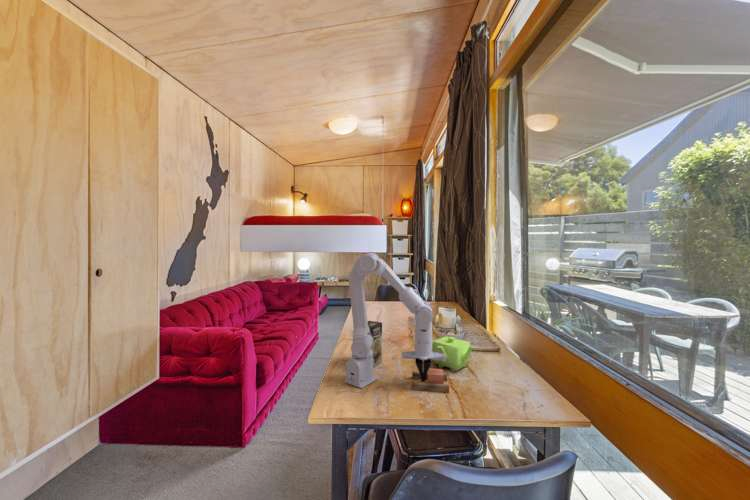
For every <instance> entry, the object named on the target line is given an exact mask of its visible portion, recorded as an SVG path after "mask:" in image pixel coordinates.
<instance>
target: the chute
mask: <svg viewBox="0 0 750 500" xmlns="http://www.w3.org/2000/svg"><path fill="white" fill-rule="evenodd" d="M411 379H413V380H421V377H420V373H419V371H412V370H411ZM426 380H427V381H428V372H427V374H426V378H425V381H426ZM447 381H448V373H444V372H443V382H447ZM410 384H411V387H410V388H411V391H419V392H420V391H421V392H433V393H447V394H448V393H450V384H449V383H448V384H447V383H446V384H445V383H443V384H434V383H428V382H417V381H411V383H410Z"/></svg>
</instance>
